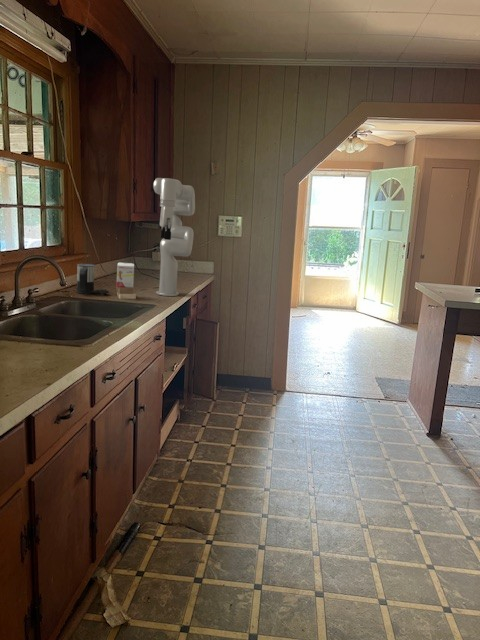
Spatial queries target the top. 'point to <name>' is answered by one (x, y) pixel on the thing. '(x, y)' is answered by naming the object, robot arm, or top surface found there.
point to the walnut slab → (124, 290)
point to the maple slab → (127, 296)
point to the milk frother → (86, 279)
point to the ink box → (125, 275)
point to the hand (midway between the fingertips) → (165, 238)
